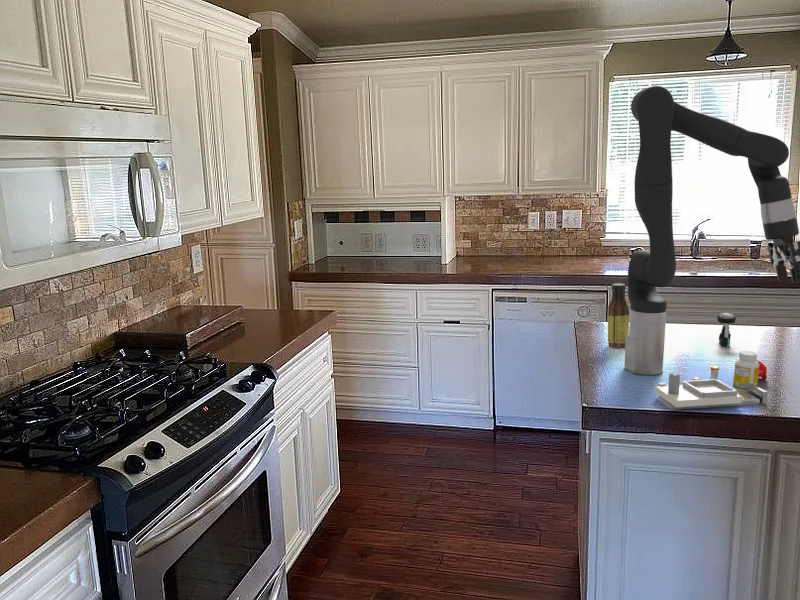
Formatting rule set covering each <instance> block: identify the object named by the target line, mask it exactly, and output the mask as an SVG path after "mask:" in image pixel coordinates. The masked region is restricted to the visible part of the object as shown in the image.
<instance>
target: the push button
mask: <svg viewBox="0 0 800 600" xmlns="http://www.w3.org/2000/svg"><path fill="white" fill-rule="evenodd" d="M716 319H717V322H718V323H719V324H721V325H722V329H721V332H719V335H718V345H719V346H722V348H730V345H731V336H732V335H731V333H730V325H733V324H735V323H736V320H737V317H735V316H734V314H733V313H729V312H721V313H720V314H719V315H717V316H716Z"/></svg>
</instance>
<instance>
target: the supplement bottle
mask: <svg viewBox="0 0 800 600" xmlns="http://www.w3.org/2000/svg"><path fill="white" fill-rule="evenodd" d="M755 360H758V353H756V352H755V351H752V350H751V351H750V350H741V351H739V352H738V359H737V360H736V361H735V362H734V372H733V381H732V382H733V384H732V388H734V389H736V390H737V391H745V392H747V385H748V384H753V385H755V386H757V387H758V383H757V381H758V382H759V379H758V378H759V377H758V372H759V363H758V362H757V361H755Z"/></svg>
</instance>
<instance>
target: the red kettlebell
mask: <svg viewBox="0 0 800 600" xmlns="http://www.w3.org/2000/svg"><path fill="white" fill-rule="evenodd" d="M755 361H757V362H758V363H759V372H758V378H761V379H763V380H767V378H768V376H767V373H768V370H767V369H768V367H767V366H766V365H765V364H764V363H763V362H761V360H758V359H756V360H755ZM758 383H759V380H758V381H757V384H758Z"/></svg>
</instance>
